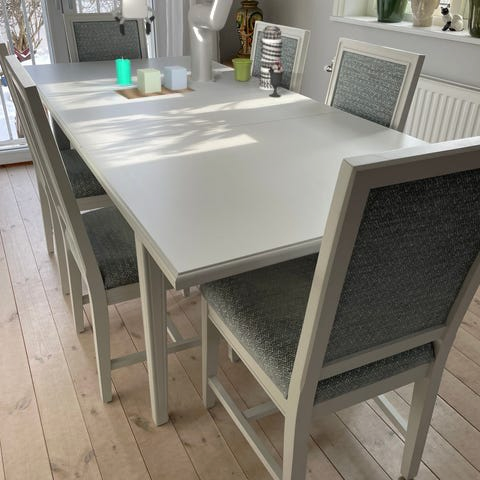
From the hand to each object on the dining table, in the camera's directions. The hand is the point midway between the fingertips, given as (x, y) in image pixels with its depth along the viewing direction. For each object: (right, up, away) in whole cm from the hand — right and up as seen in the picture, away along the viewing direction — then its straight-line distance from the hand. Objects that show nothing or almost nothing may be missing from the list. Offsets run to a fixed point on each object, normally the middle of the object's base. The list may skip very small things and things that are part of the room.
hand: (135, 34), depth 198 cm
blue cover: (+13, -15, +17) cm, 27 cm away
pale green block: (+3, -18, +11) cm, 22 cm away
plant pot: (+41, -6, +38) cm, 56 cm away
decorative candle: (+53, -13, +26) cm, 61 cm away
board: (+6, -19, +12) cm, 23 cm away
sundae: (+55, -20, +15) cm, 60 cm away
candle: (-9, -14, +21) cm, 27 cm away
